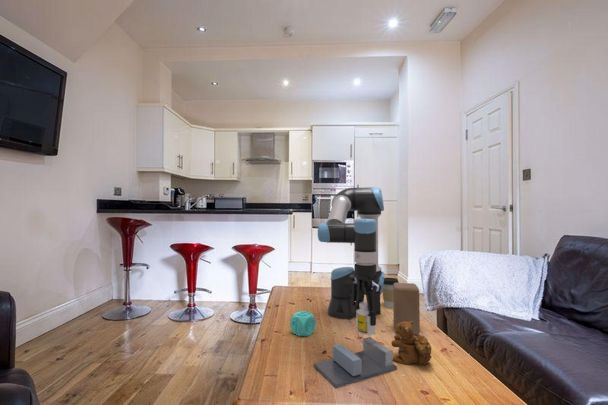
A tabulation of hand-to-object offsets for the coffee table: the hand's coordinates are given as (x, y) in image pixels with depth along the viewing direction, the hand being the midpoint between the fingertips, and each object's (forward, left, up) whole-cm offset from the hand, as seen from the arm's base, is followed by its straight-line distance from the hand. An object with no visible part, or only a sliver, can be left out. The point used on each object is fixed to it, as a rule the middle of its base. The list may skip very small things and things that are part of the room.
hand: (365, 331), depth 104 cm
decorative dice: (-34, -7, -12) cm, 37 cm away
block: (-16, +35, -12) cm, 40 cm away
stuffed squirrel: (+5, +17, -12) cm, 21 cm away
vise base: (0, -4, -12) cm, 12 cm away
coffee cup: (-45, +52, -12) cm, 69 cm away
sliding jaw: (0, -8, -10) cm, 13 cm away
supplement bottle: (0, 0, -1) cm, 1 cm away
